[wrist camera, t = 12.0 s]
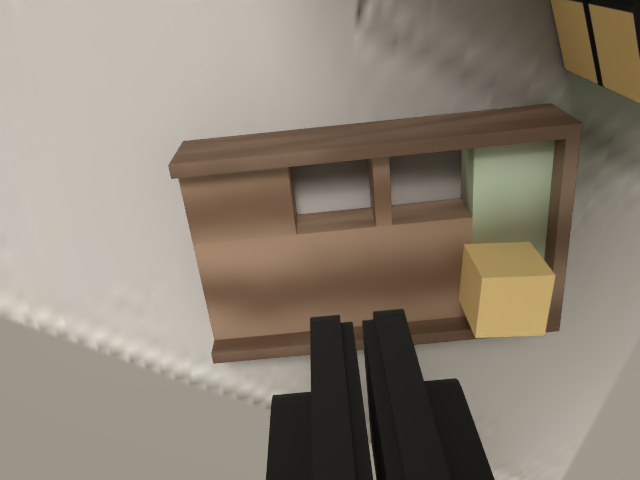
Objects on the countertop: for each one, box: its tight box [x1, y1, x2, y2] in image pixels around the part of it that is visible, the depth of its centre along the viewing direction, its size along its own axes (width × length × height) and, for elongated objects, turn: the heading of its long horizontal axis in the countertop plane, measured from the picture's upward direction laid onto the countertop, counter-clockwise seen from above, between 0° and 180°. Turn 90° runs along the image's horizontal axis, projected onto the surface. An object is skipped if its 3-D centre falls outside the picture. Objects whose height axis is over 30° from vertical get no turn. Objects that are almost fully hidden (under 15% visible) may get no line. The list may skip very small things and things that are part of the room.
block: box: [459, 242, 556, 338], centre depth 36 cm, size 4×4×4 cm
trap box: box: [168, 104, 582, 363], centre depth 37 cm, size 14×23×4 cm, turn 96°
